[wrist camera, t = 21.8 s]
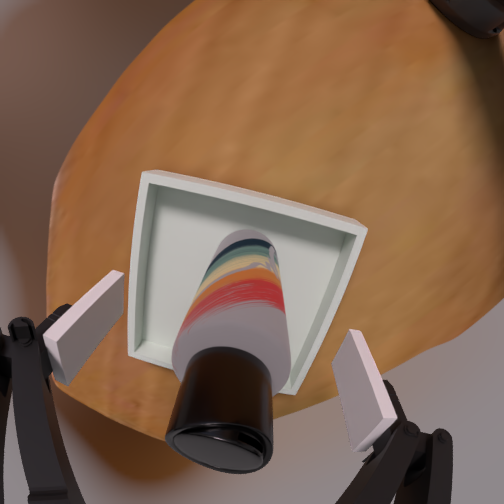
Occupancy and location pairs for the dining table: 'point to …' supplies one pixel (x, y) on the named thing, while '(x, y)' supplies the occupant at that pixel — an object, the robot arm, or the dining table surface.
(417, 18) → the dining table surface
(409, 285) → the dining table surface
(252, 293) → the lotion bottle
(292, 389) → the tray
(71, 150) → the dining table surface
